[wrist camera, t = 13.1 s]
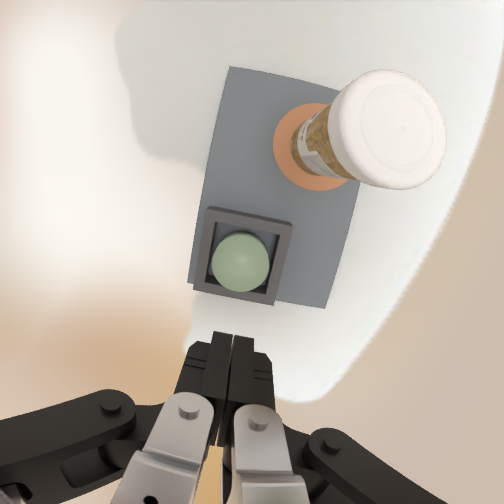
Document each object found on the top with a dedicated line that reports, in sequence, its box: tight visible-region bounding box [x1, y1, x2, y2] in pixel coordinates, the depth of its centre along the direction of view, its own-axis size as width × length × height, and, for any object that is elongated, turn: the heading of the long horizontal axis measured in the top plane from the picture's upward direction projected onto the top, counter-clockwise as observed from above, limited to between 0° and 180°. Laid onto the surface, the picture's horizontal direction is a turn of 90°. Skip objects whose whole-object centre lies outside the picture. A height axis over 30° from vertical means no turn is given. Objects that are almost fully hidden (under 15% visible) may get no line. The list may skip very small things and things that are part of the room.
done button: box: [212, 231, 269, 292], centre depth 22 cm, size 4×4×2 cm
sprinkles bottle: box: [290, 70, 446, 190], centre depth 15 cm, size 5×5×13 cm
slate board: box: [187, 66, 360, 309], centre depth 22 cm, size 18×12×3 cm, turn 168°
